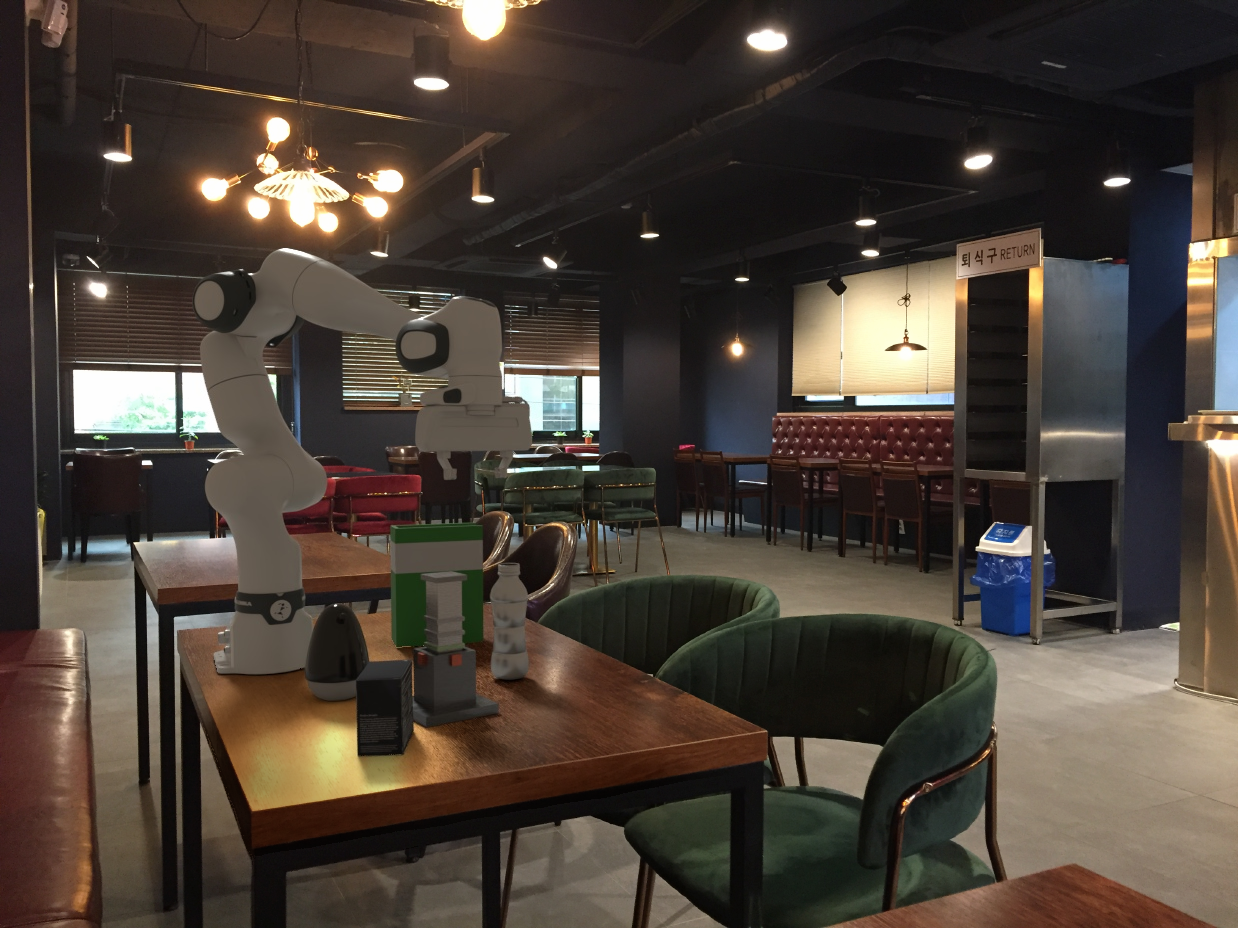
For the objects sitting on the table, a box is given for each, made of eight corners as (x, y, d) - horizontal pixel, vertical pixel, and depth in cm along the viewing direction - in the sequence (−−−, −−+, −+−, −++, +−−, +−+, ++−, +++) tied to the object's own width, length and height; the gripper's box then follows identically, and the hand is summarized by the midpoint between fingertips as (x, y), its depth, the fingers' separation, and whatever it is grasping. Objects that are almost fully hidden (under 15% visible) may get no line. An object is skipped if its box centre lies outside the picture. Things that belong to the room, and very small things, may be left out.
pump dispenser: (311, 708, 149) (310, 611, 148) (300, 693, 158) (298, 601, 158) (377, 700, 154) (376, 605, 153) (362, 685, 163) (361, 596, 162)
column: (421, 669, 148) (420, 574, 147) (452, 665, 151) (451, 571, 150) (436, 676, 144) (435, 577, 143) (467, 671, 147) (467, 574, 146)
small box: (368, 732, 137) (367, 659, 137) (414, 731, 137) (414, 658, 137) (354, 757, 126) (353, 677, 126) (404, 755, 127) (403, 676, 127)
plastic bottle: (523, 684, 163) (522, 567, 163) (485, 682, 165) (484, 566, 164) (533, 675, 170) (533, 562, 169) (497, 673, 171) (496, 561, 170)
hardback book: (475, 634, 205) (475, 522, 204) (483, 641, 198) (482, 525, 197) (391, 641, 199) (390, 525, 198) (396, 648, 192) (395, 528, 191)
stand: (391, 708, 149) (391, 647, 148) (461, 696, 156) (461, 637, 156) (426, 727, 139) (425, 662, 139) (498, 712, 146) (498, 650, 146)
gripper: (519, 397, 167) (520, 476, 168) (410, 394, 155) (411, 480, 155) (539, 396, 162) (539, 477, 163) (427, 392, 150) (428, 481, 150)
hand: (476, 479), depth 159 cm, fingers open, 8 cm apart
